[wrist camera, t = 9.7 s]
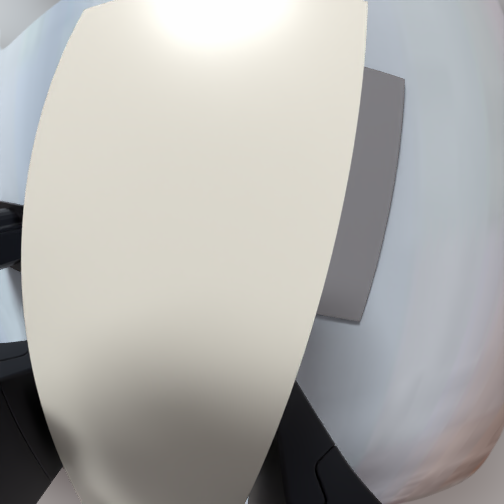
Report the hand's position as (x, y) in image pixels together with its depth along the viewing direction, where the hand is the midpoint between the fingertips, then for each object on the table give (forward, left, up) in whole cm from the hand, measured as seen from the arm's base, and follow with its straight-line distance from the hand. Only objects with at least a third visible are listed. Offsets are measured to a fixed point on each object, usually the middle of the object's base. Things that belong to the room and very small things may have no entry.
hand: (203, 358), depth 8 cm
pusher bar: (0, 0, -2) cm, 2 cm away
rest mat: (+4, +6, -10) cm, 13 cm away
